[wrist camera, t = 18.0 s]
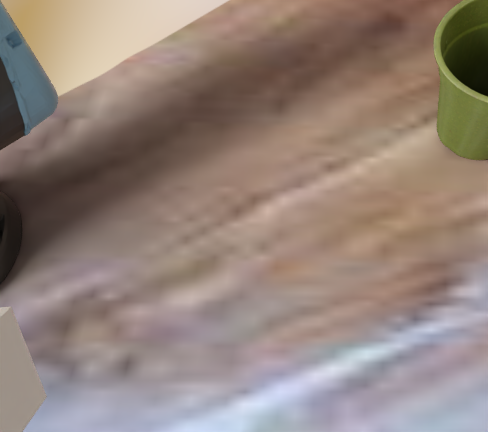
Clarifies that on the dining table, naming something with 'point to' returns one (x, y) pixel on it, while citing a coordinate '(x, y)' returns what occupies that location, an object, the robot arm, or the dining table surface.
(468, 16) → the plant pot
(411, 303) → the dining table surface
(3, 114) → the robot arm
